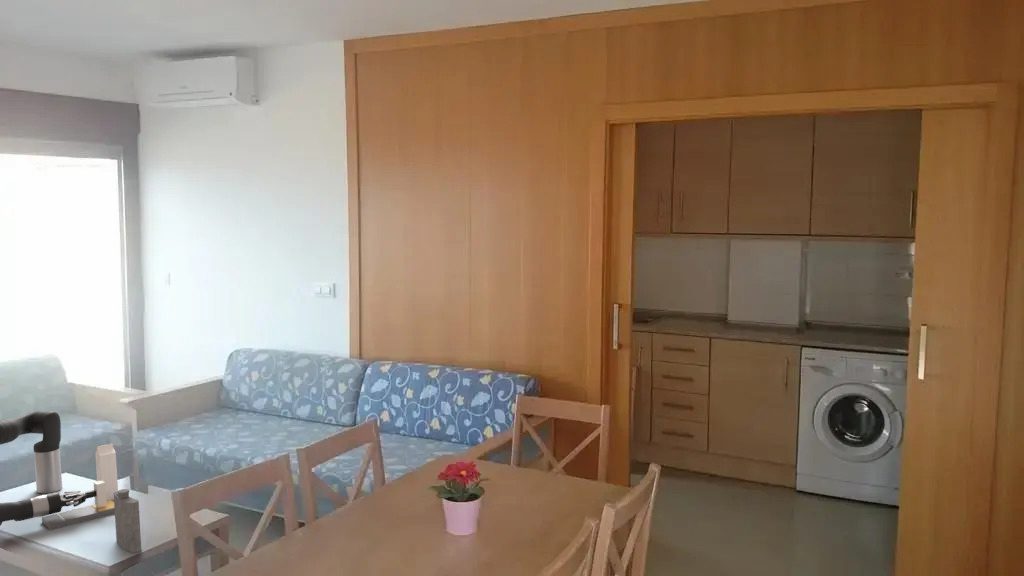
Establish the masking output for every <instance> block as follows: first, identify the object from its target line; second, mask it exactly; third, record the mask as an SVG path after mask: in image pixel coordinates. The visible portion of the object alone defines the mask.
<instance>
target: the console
mask: <svg viewBox="0 0 1024 576" xmlns="http://www.w3.org/2000/svg"><path fill="white" fill-rule="evenodd" d="M106 504H107V506H104V507H100V508H98V507H96V506H95V503H94V504H90V505H86V506H82V507H79V508H73V509H71V510H65V511H63V512H62V511H60V512H58V513H54V514H50V515H46V516H42V517H41V523H42V524H43V525H44V526H45V527H46V528H47V529H48V530H49V531H52V530H55V529H59V528H62V527H63V528H64V527H67V526H71V525H75V524H79V523H82V522H88V521H91V520H94V519H95V520H96V519H99V518H103V517H106V516H109V515H113V514H114V515H115V508H114V499H113V500H109V501H106Z"/></svg>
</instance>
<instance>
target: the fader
mask: <svg viewBox="0 0 1024 576" xmlns="http://www.w3.org/2000/svg"><path fill="white" fill-rule="evenodd" d="M93 490H95V491H96V497H94V504H95V506H96V507H98V508H100V507H104V506H107V504H106V489H105V482H104V481H102V480H101V481H97V480H96V481H93Z"/></svg>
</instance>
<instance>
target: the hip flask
mask: <svg viewBox="0 0 1024 576" xmlns="http://www.w3.org/2000/svg"><path fill="white" fill-rule="evenodd" d="M113 500H114V508H115V513H114V520H115V537H116V544H117V545H118V546H119V547H120V548H121V549H123V550H125V551H127V552H129V553H131V554H137V553H140V552H141V551H142V537H141V522H140V521H141V520H140V504H139V499H136V498H133V497H131V496H130V489H129V488H123V489H118V491H116V492H114V499H113Z"/></svg>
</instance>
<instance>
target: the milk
mask: <svg viewBox="0 0 1024 576" xmlns="http://www.w3.org/2000/svg"><path fill="white" fill-rule="evenodd" d="M94 453H95V454H94V455H95V467H96V482H97V481H101V480H102V481H104V482H105V489H106V501H110V500H114V492H116V491H119V484H118V483H119V482H118V470H117V467H118V466H117V455H116V454H117V452H116V450H115V448H114V444H113V443H109V444H104V445H98V446H97V447H96V451H95V452H94Z"/></svg>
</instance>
